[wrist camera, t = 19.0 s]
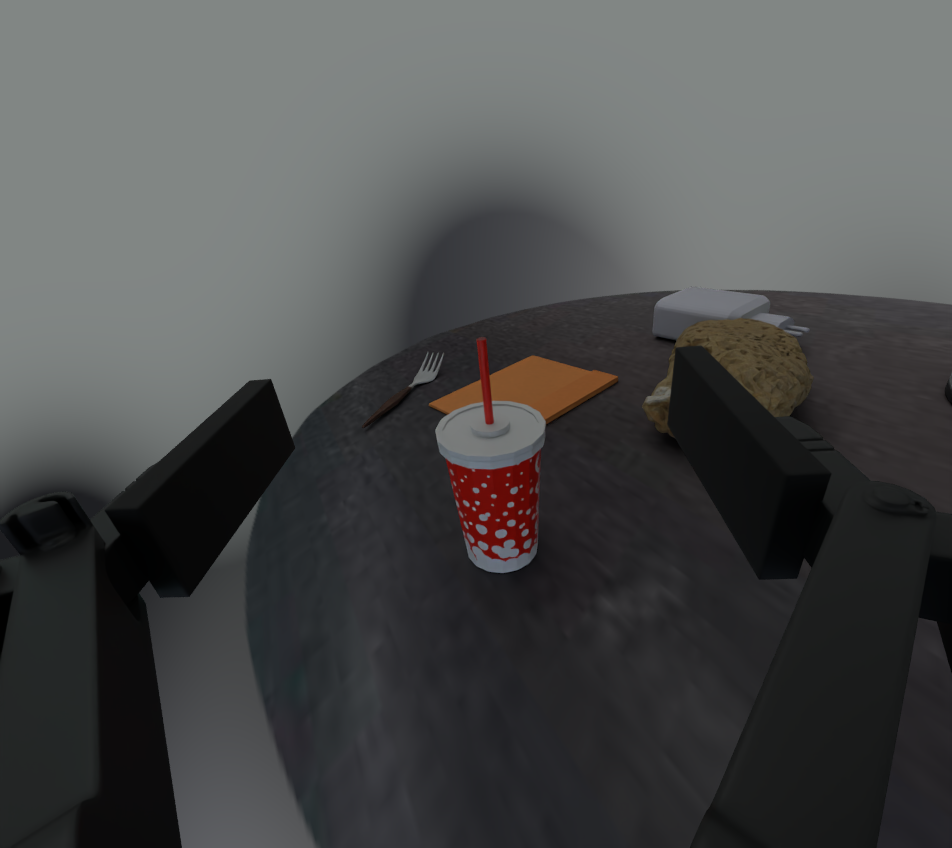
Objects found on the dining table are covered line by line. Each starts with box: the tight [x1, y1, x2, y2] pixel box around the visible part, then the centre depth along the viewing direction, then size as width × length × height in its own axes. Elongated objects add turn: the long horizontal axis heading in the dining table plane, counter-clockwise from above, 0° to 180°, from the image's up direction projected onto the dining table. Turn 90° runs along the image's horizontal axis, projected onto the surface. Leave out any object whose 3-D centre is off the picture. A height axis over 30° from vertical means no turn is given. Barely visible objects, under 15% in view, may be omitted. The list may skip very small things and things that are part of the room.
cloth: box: [429, 355, 618, 424], centre depth 49 cm, size 16×12×1 cm
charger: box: [652, 287, 809, 341], centre depth 55 cm, size 5×9×15 cm
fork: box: [362, 352, 444, 428], centre depth 51 cm, size 3×16×2 cm, turn 157°
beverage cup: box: [435, 337, 546, 573], centre depth 27 cm, size 6×6×14 cm
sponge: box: [642, 318, 814, 438], centre depth 41 cm, size 13×8×20 cm
